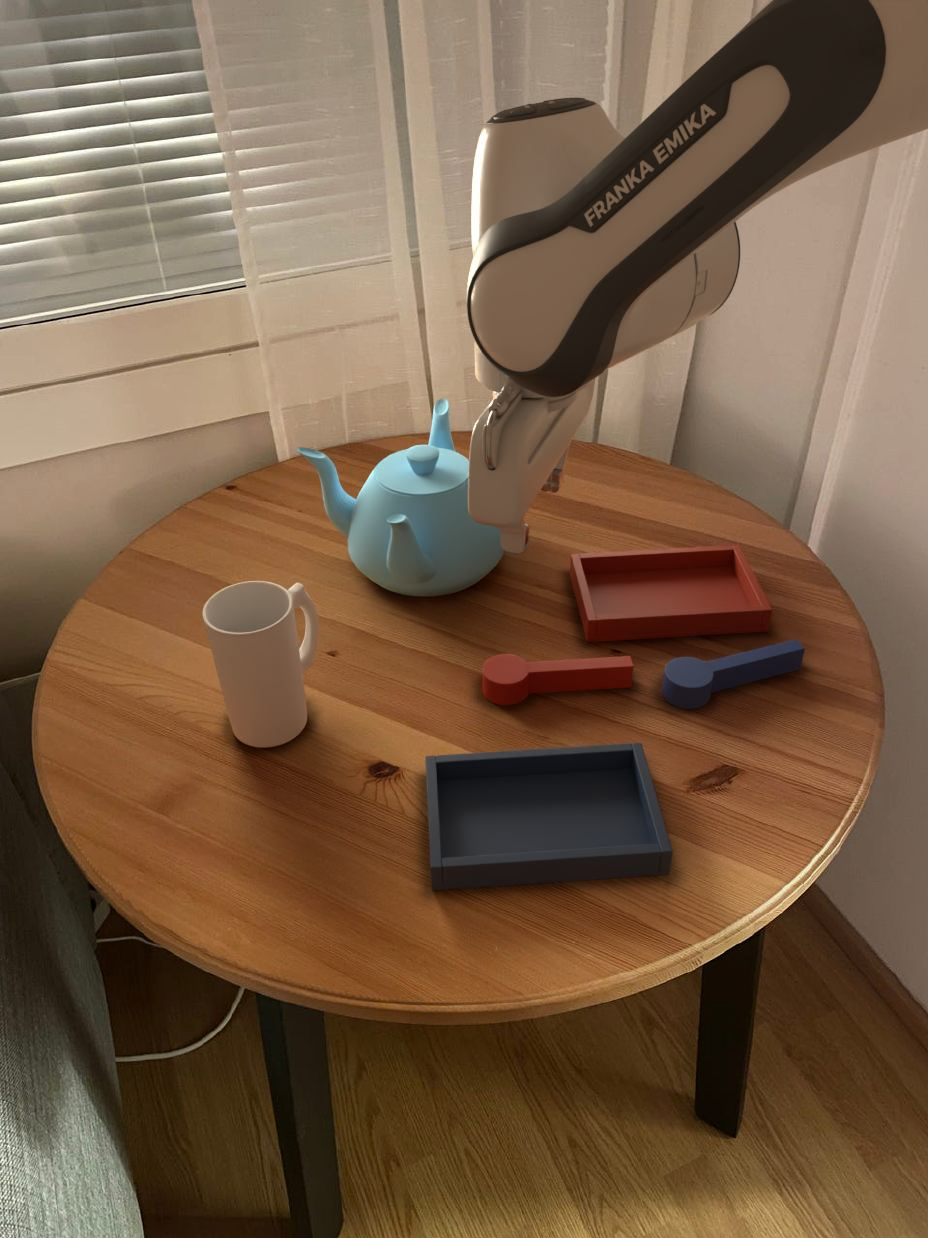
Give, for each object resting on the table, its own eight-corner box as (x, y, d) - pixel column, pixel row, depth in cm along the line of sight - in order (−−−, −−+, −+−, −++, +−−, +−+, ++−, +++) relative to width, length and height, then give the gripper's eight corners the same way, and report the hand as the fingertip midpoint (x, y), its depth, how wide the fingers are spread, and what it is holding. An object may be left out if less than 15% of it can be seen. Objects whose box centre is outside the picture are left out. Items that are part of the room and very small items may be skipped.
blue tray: (638, 765, 78) (641, 742, 77) (669, 875, 70) (673, 851, 69) (426, 778, 78) (425, 755, 76) (432, 891, 69) (430, 868, 68)
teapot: (304, 554, 103) (288, 447, 95) (447, 493, 112) (443, 391, 104) (401, 634, 92) (392, 520, 85) (551, 559, 101) (555, 450, 94)
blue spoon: (782, 651, 89) (787, 629, 87) (808, 679, 86) (814, 657, 84) (653, 684, 86) (656, 662, 84) (676, 714, 83) (679, 692, 81)
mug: (268, 763, 80) (244, 646, 72) (211, 728, 83) (183, 613, 75) (354, 694, 86) (340, 579, 78) (298, 664, 89) (279, 552, 82)
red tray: (735, 565, 100) (739, 544, 98) (768, 631, 91) (772, 609, 90) (569, 574, 99) (570, 553, 97) (586, 642, 91) (588, 620, 89)
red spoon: (625, 667, 88) (627, 645, 86) (634, 697, 85) (636, 676, 83) (480, 675, 87) (480, 654, 86) (484, 707, 84) (484, 685, 83)
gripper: (534, 419, 63) (531, 597, 71) (614, 305, 78) (604, 463, 86) (440, 406, 65) (449, 580, 73) (536, 297, 80) (534, 453, 88)
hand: (533, 516), depth 80 cm, fingers open, 8 cm apart
